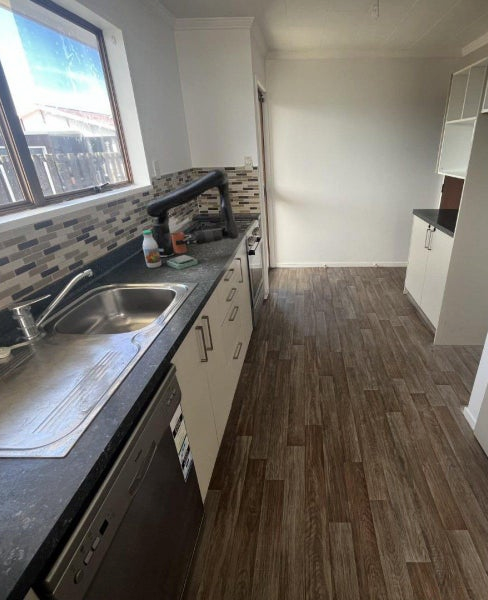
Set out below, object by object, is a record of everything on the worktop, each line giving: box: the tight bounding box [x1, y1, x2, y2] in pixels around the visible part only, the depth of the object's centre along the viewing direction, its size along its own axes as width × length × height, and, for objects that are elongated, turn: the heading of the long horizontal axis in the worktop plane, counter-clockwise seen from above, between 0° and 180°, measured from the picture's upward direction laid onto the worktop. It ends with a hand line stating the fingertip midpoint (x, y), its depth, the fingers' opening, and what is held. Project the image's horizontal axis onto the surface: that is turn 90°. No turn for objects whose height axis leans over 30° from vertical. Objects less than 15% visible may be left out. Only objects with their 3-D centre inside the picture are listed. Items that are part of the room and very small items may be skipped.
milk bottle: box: [142, 229, 162, 269], centre depth 182 cm, size 8×8×20 cm
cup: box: [170, 231, 188, 254], centre depth 182 cm, size 7×7×10 cm
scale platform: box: [168, 254, 195, 264], centre depth 186 cm, size 10×10×1 cm
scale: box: [166, 258, 199, 270], centre depth 187 cm, size 12×12×3 cm
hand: (174, 241), depth 181 cm, fingers closed on cup, 6 cm apart
